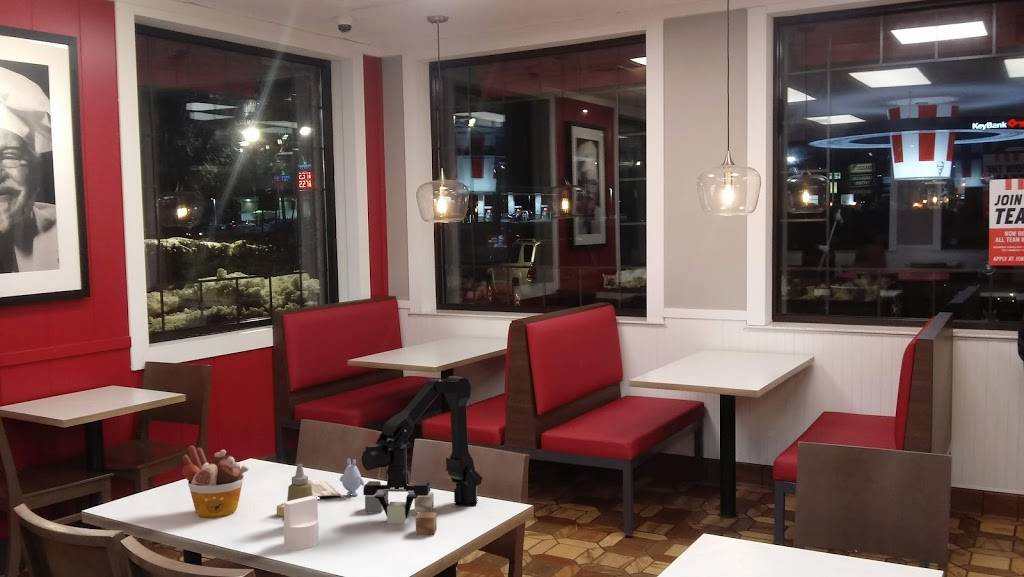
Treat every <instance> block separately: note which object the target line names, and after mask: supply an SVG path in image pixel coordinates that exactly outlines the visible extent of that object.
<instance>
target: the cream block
mask: <svg viewBox="0 0 1024 577" xmlns="http://www.w3.org/2000/svg"><path fill="white" fill-rule="evenodd" d="M434 495H435V494H434V492H433V491H430V492H429V494H428V495H427V496H418V497H417V498H415V499H413V501H414V503H413V504H414V513H415V512H433V511H432V509H433V507H434V508H435V506H434V505H435V503H434V502H435V501H434V500H435V498H434ZM433 510H434V509H433Z"/></svg>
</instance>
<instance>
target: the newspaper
mask: <svg viewBox="0 0 1024 577" xmlns="http://www.w3.org/2000/svg"><path fill="white" fill-rule="evenodd" d="M326 481H327V480H325V481H324V479H317V480H314V479H313V480H312V479H311V480H309V479H308V483H310V484H311V486H312V494H313V496H319V497H331V496H332V497H340V498H342V497H343V496H344V495H342V494H341V493H340V492H338V491H336V488H335V487H333V485H332V484H330V483H329V482H328V481H327V482H328V483H329V484H330V485H329V484H328V483H327V482H326ZM341 496H342V497H341ZM317 501H320V500H319V499H317Z"/></svg>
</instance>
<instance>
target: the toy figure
mask: <svg viewBox="0 0 1024 577" xmlns="http://www.w3.org/2000/svg"><path fill="white" fill-rule="evenodd" d="M346 463H347V466H346V468H345V470H344V472H343V474H342V475H340V478H339V482H341V483H342V486H343V488H344V489H345V490H346V491H347V492H346V495H348V496H353V497H358V496H359V493H358V492H356V491H357V490H358V489H359V488H360V487H361V486H362V487H364V486H365V481H364V480H363V479H362V475H361V473H360V471H359V468H358V467H357V466H356V464H357V460H356V459H354V458H353V459H352V461H351V458H350V457H349V458H347V459H346ZM351 494H352V495H351ZM357 495H358V496H357Z"/></svg>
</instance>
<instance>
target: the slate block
mask: <svg viewBox="0 0 1024 577" xmlns="http://www.w3.org/2000/svg"><path fill="white" fill-rule="evenodd" d="M364 511H365V512H371V514H373V513H374V514H375V512H380V514H381V512H383V511H384V509H383V507H382V505H381V503H380V501H379V500H378V498H375V495H364ZM365 512H364V513H365ZM372 512H373V513H372Z"/></svg>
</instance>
